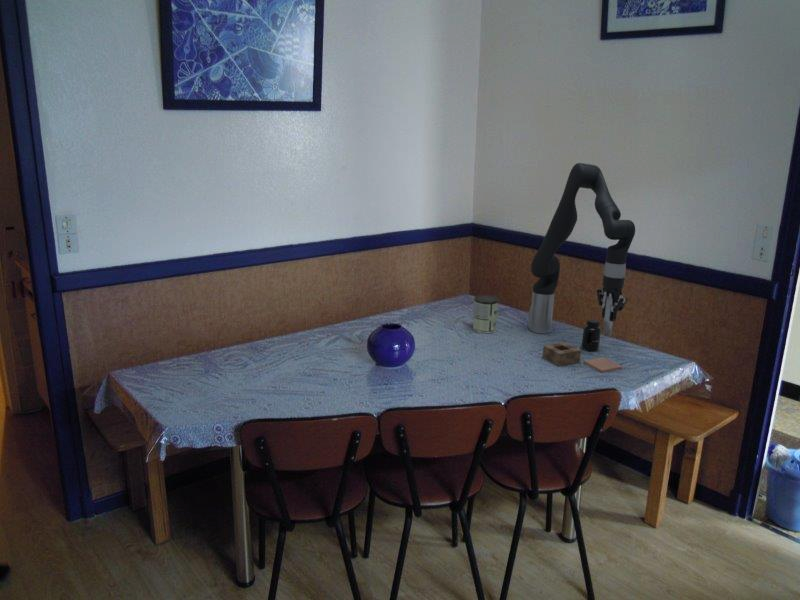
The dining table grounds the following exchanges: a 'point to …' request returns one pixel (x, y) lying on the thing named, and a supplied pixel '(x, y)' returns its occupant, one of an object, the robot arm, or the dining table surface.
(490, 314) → the coffee can
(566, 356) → the walnut block
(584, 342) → the supplement bottle
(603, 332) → the metal pin
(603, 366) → the terracotta mat
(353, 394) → the dining table surface
